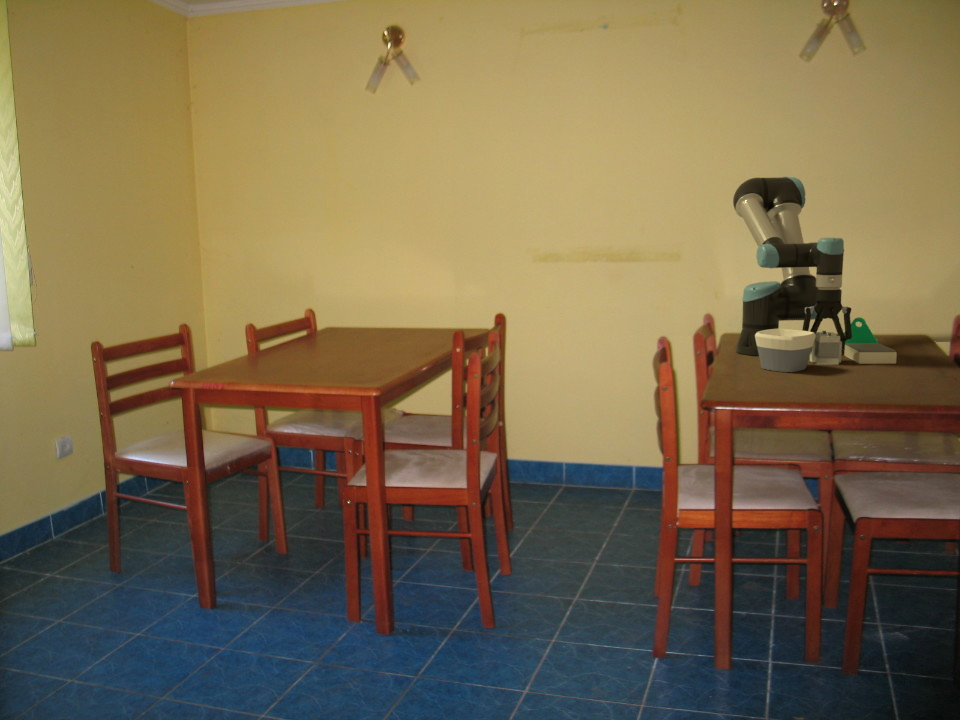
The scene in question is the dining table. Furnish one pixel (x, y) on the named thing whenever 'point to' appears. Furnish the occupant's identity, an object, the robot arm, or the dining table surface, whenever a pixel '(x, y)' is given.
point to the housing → (826, 348)
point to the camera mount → (861, 333)
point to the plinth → (870, 353)
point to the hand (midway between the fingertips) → (825, 361)
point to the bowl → (784, 349)
